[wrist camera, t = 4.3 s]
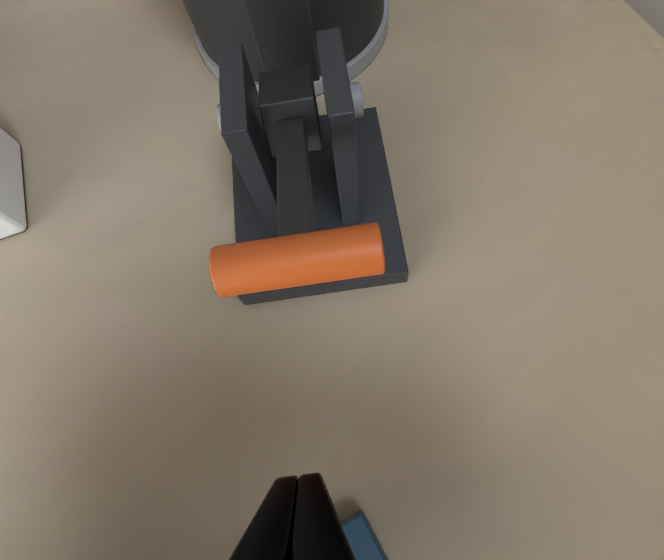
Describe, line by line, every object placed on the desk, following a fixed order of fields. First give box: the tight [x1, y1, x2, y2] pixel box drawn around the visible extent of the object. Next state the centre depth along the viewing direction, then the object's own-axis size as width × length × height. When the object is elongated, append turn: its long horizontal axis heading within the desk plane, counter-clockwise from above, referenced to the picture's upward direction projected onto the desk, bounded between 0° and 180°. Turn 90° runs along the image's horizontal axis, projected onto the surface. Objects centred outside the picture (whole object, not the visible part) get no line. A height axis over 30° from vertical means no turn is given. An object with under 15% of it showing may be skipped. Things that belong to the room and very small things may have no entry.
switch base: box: [216, 27, 409, 305], centre depth 21 cm, size 11×9×10 cm
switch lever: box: [209, 64, 385, 297], centre depth 16 cm, size 11×5×2 cm, turn 7°
